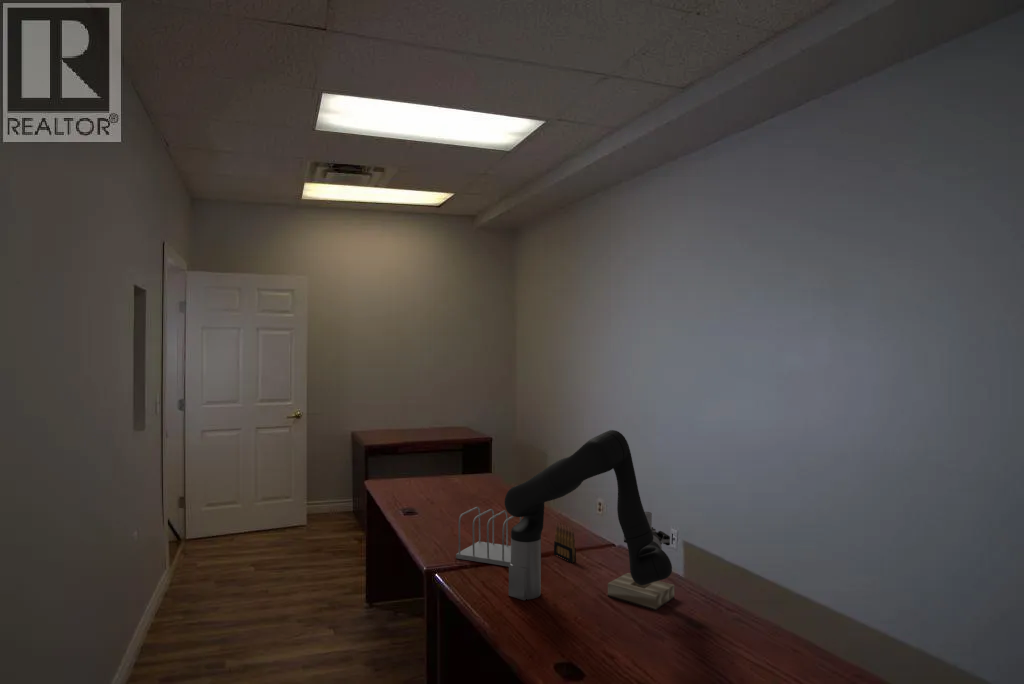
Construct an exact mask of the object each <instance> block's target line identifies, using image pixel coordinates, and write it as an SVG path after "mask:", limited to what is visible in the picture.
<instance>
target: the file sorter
mask: <svg viewBox="0 0 1024 684" xmlns="http://www.w3.org/2000/svg"><path fill="white" fill-rule="evenodd" d="M475 510H478V514H477V515H475V517H474V518H473V521H472V544H470V546H468V547H466V548H464V549H462V550H461V519H462V517H463V516H464V515H466V514H469V513H470V512H473V511H475ZM489 512H491V513H492V516H491V517H490V518H489V519H488V521H487V523H486V542H485V541H481V516H483V515H485V514H487V513H489ZM502 514H505V520H504V522H503V524H502V532H501V533H502V536H501V537H502V539H501V543H502V544H500V543H495V518H497V517H499V516H501V515H502ZM513 518H516V517H515V516H512V515H510V516H509V517H508V512H507V510H506V509H504V510H502V511H500V512H499V513H498V512H497V513H496V514H495V511H494V510H493V509H492V508H490V509H489V508H488V510H485V511H483V512H481V509H480V507H479V506H475V507H473V508H471V509H468V510H466V511H465V512H463V513H460V515H459V517H458V526H457V527H458V528H457V529H458V535H457V536H458V552H457V553H456V554H455V559H457V560H463V561H470V562H471V561H472V562H477V563H483V564H484V563H485V564H490V565H496V566H503V567H508V568H509V564H511V545H509V526H508V525H509V524H508V523H509V522H508V521H511V519H513ZM477 519H478V541H477V542H475V522H476V520H477ZM522 519H523V517H519V522H520V521H521V520H522ZM491 521H492V522H491ZM490 522H491V525H492V527H491V528H492V542H490V535H489V533H490V529H489V528H490V527H489V526H490ZM505 534H506V535H505ZM505 540H506V542H505ZM505 543H506V544H505Z"/></svg>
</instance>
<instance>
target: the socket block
mask: <svg viewBox="0 0 1024 684" xmlns="http://www.w3.org/2000/svg"><path fill="white" fill-rule="evenodd" d="M607 597H608V598H612V599H615V600H618V601H622V602H626V603H628V602H629V603H630V604H632V603H633V604H632V605H635V604H636V605H635V606H639V607H642V606H643V608H645V607H646V609H649V608H650V610H652V609H653V611H657V610H659V609H660V608H662V607H664V604H665V605H666V604H668V603H670V602H671V601H672V600H674V599H675V584H672V583H668V582H664V581H662V580H659V581H656V582H652V583H649V584H646V585H639V584H637V583H636V582H635V581H634V580H633V578H632V576H631V573H630V572H627V573H624V574H622V575H621V576H619V577H617V578H615V579H613V580H611V581H609V582H607ZM673 598H674V599H673ZM670 600H671V601H670ZM667 602H668V603H667ZM629 603H628V604H629ZM661 606H662V607H661ZM658 608H659V609H658Z"/></svg>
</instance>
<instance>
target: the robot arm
mask: <svg viewBox="0 0 1024 684" xmlns="http://www.w3.org/2000/svg"><path fill="white" fill-rule="evenodd" d="M612 470H613V471H614V474H615V477H616V482H617V483H616V484H617V503H616V505H617V507H616V511H617V518H618V522H619V526H620V528H621V531H622V533H623V543H625V544H626V545H627V551H628V557H629V571H630V572H629V573H631V576H632V578H633V580H634V581H635V582H636V583H637V584H639V585H646V584H649V583H652V582H656V581H663V580H665V579H668V578H669V577H670V576H671V574H672V572H673V565H672V562H671V559H670V557H669V556H668V554H667V553H666V552H665V551H664V550H663V547H662V544H663V545H665V546H670V545H671V544H670V543H671V536H670V535H669V534H667V533H665V532H664V531H661V530H658V531H657V530H656V528H654V527H652V530H651V528H650V525H649V523H648V520H647V517H646V515H645V512H646V511H645V509H644V507H643V503H642V500H641V495H640V491H639V487H638V483H637V482H638V480H637V476H636V472H635V468H634V462H633V456H632V453H631V449H630V446H629V443H628V440H627V439H626V437H625V436H624V435H623V434H622V432H620V431H618V430H614V429H609V430H607V431H605V432H602V433H601V434H598V435H596V436H594V437H592V438H591V439H589V440H588V441H586V442H585V443H584V444H583V445H581V447H579V448H578V449H577V450H576V451H575V452H574V453H573V454H570V456H567V457H564V458H561V459H559V460H557V461H555V462H553V463H552V464H551V465H549V466H547V467H545V469H543V470H542V471H540V472H538V473H537V474H536V475H533V477H531V478H530V479H528V480H526V481H525V482H523V483H522V482H521V483H519V484H517V485H514V486H513V487H511V488H509V489H508V490H507V493H506V494H505V498H504V508H505V511H506V512H507V514H510V516H515V517H514V518H520V517H522V520H521V521H520V520H519V522H518V523H516V524H515V525H514V526H513V527H512V528H511V531H510V546H511V564H509V567H508V596H510V597H512V598H515V599H518V600H521V601H526V599H527V600H534V599H537V598H539V597H540V596H541V592H542V589H541V588H542V587H541V584H542V580H541V579H542V574H541V572H542V571H541V570H542V566H541V565H542V533H543V529H544V519H545V518H544V517H545V503H547V502H551V501H554V500H557V499H560V498H563V497H565V496H566V495H568V494H570V493H573V491H575V490H577V489H578V488H579V487H581V485H582V483H583V482H584V481H586V480H587V479H591V478H593V477H596V476H599V475H602V474H605V473H608V472H610V471H612Z"/></svg>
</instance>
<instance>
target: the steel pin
mask: <svg viewBox="0 0 1024 684" xmlns="http://www.w3.org/2000/svg"><path fill="white" fill-rule="evenodd" d="M644 512H645V515H646V517H647V520H648V523H649V525H650V528H651V530H652V524H653V523H652V519H653V515H652V514H653V512H650V511H644Z"/></svg>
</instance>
